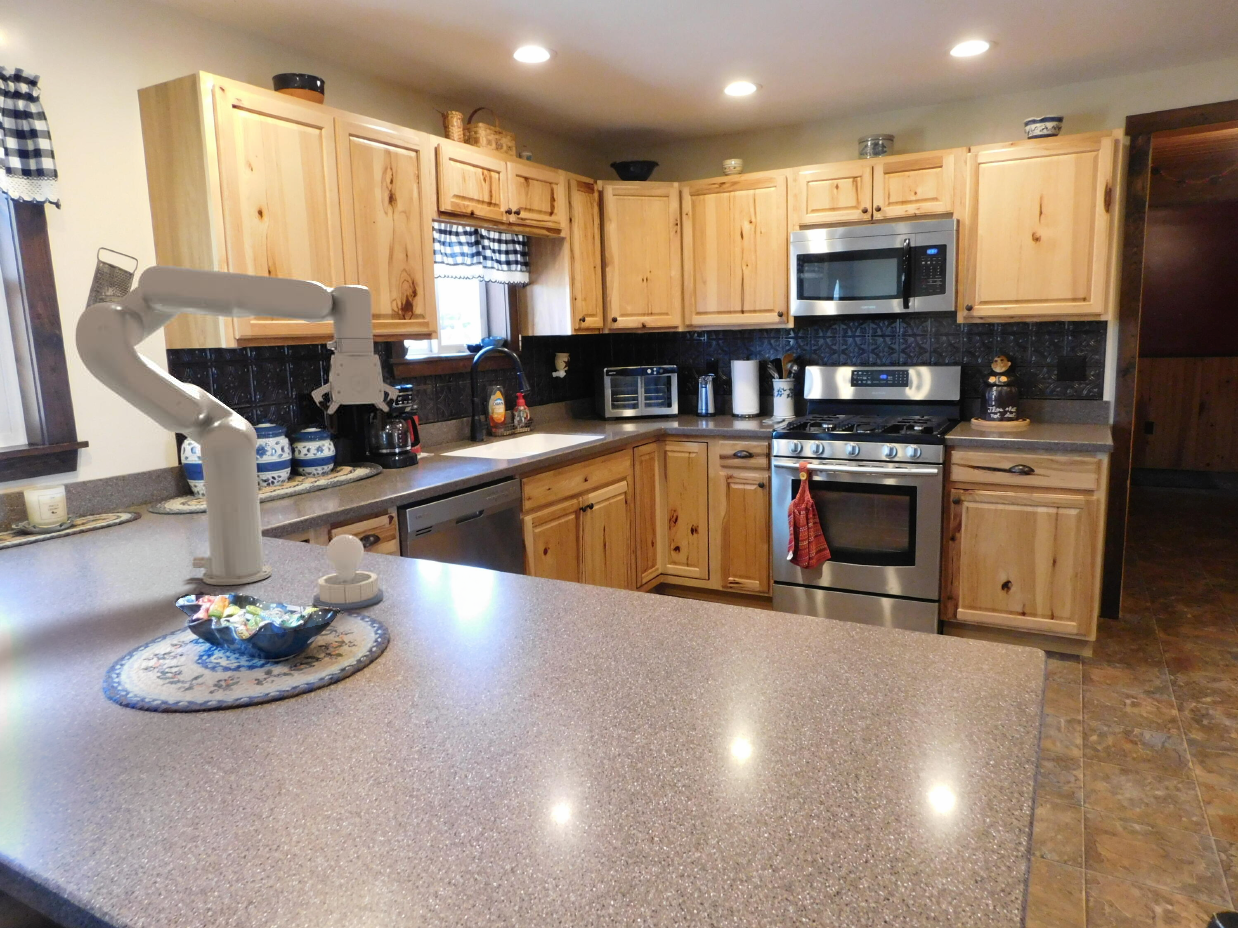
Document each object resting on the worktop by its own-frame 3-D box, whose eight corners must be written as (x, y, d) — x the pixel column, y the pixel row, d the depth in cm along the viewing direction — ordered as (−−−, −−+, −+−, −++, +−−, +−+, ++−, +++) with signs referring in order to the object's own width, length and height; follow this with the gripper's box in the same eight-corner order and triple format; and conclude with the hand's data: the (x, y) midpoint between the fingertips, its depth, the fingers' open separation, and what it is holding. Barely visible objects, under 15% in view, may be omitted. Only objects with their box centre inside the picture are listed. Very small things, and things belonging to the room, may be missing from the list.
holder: (301, 609, 142) (300, 587, 141) (329, 590, 153) (328, 569, 153) (369, 610, 141) (368, 588, 140) (392, 590, 153) (391, 570, 152)
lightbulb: (371, 590, 150) (369, 531, 149) (355, 600, 144) (353, 538, 142) (338, 589, 151) (336, 530, 149) (321, 598, 144) (319, 537, 143)
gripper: (314, 347, 157) (318, 435, 160) (401, 347, 167) (405, 431, 169) (305, 348, 164) (310, 432, 166) (390, 348, 173) (393, 428, 175)
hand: (358, 431), depth 167 cm, fingers open, 9 cm apart
